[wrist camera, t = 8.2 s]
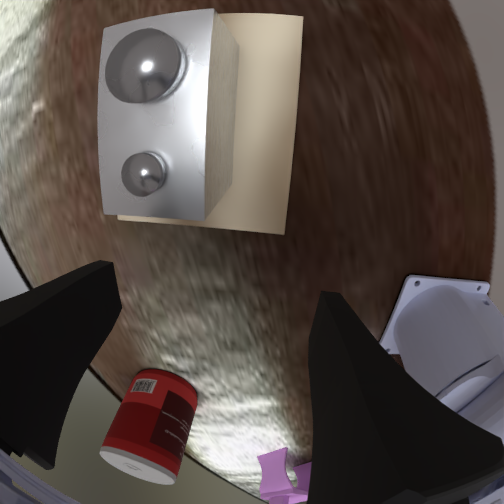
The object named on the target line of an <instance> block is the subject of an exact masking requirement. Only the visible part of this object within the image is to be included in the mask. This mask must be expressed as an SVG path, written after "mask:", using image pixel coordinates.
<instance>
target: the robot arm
mask: <svg viewBox="0 0 504 504" xmlns="http://www.w3.org/2000/svg"><path fill="white" fill-rule="evenodd" d="M416 281H418V282H417V283H416V284H415V282H416ZM478 286H479V287H478ZM489 288H490V285H489V283H488V282H484V281H473V280H462V279H451V278H440V277H430V276H419V275H409V276H408V277H407V278H406V279H405V281H404V284H403V287H402V290H401V292H400V295H399V298H398V300H397V303H396V305H395V308H394V310H393V313H392V315H391V317H390V320H389V322H388V324H387V327H386V329H385V331H384V334H383V336H382V338H381V340H380V342H378V341H377V340H376V339H375V338H374V336H373V335H372V334H371V333H370V331H369V330H368V329H367V328H366V326H365V325H364V324H363V323H362V321H361V320H360V319H359V317H358V316H357V315H356V313H355V312H354V311H353V310H352V308H351V307H350V306H349V304H348V303H347V302H346V300H345V299H344V298H343V296H342V295H341V294H340V293H336V292H326V291H321V294H320V298H319V302H318V306H317V310H316V314H315V317H314V321H313V325H312V328H311V332H310V336H309V352H308V367H309V378H310V389H311V400H312V413H313V449H312V463H311V473H310V483H309V491H308V498H307V504H504V316H503V315H502V314H501V312H500V311H499V310H498V308H497V307H496V306H495V304H494V303H493V302H492V301H491V299H490V298H489V297H488V296H487V292H488V290H489ZM121 309H122V305H121V300H120V296H119V291H118V286H117V281H116V276H115V270H114V265H113V262H108V261H102V260H99V261H96V262H93V263H90V264H87V265H85V266H82V267H80V268H78V269H76V270H73V271H71V272H69V273H67V274H65V275H63V276H60V277H58V278H56V279H54V280H52V281H50V282H47V283H45V284H43V285H41V286H38V287H36V288H34V289H32V290H30V291H27V292H25V293H23V294H20V295H17V296H15V297H12V298H9V299H6V300H4V301H1V302H0V504H42V503H41V502H39V501H38V500H36V499H34V498H33V497H31V496H29V495H28V494H26V493H25V492H23V491H21V490H20V489H18V488H17V487H15V486H14V485H13V484H12V480H13V481H15V482H16V483H17V484H18V485H20V486H21V487H22V488H24V489H25V490H26V491H28V492H29V493H30V494H32V495H33V496H35V497H36V498H37V499H39V500H40V501H42V502H43V503H45V504H81V503H79V502H77V501H75V500H73V499H72V498H70V497H68V496H66V495H65V494H63V493H61V492H59V491H58V490H56V489H55V488H53V487H51V486H50V485H48V484H47V483H45V482H44V481H42V480H41V479H39V478H38V477H36V476H35V475H33V474H32V473H31V472H29V471H28V470H27V469H25V468H24V467H23V466H21V465H20V464H18V463H17V462H16V461H15V460H14V459H12V458H11V457H10V454H11V453H12V452H14V453H15V454H16V455H18V456H19V457H22V455H23V454H24V455H25V456H27V457H28V458H29V459H31V460H32V461H34V462H35V463H37V464H38V465H40V466H41V467H43V468H44V469H46V470H50V469H53V468H54V466H55V458H56V452H57V447H58V442H59V438H60V433H61V430H62V426H63V423H64V420H65V417H66V414H67V411H68V408H69V405H70V402H71V400H72V398H73V395H74V393H75V390H76V388H77V386H78V384H79V382H80V380H81V378H82V376H83V374H84V372H85V371H86V369H87V368H88V366H89V365H90V363H91V361H92V360H93V358H94V357H95V355H96V354H97V352H98V351H99V349H100V347H101V346H102V344H103V343H104V341H105V340H106V338H107V337H108V335H109V333H110V332H111V330H112V328H113V326H114V324H115V322H116V320H117V318H118V316H119V314H120V312H121ZM389 354H400V356H401V359H402V362H403V364H404V367H405V370H406V371H405V370H404V369H403V368H402V367H401V366H400V365H399V364H398V363H397V362H396V361H395V360H394V359H393V358H392V357H391V356H390V355H389Z"/></svg>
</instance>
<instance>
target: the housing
mask: <svg viewBox="0 0 504 504" xmlns="http://www.w3.org/2000/svg"><path fill="white" fill-rule="evenodd" d="M239 50H240V46H239V44H238V43H237V41H236V40H235V38H234V37H233V35H232V34H231V32H230V31H229V29H228V28H227V26H226V25H225V23H224V22H223V20H222V19H221V18H220V16H219V15H218V13H217V12H216V10H215V9H202V10H192V11H183V12H176V13H169V14H163V15H158V16H152V17H147V18H142V19H138V20H133V21H129V22H125V23H121V24H117V25H114V26H110V27H107V28H104V32H103V40H102V48H101V58H100V70H99V87H98V151H99V169H100V182H101V192H102V202H103V210H104V214H109V215H126V216H141V217H156V218H170V219H183V220H196V221H205V220H206V218H207V217H208V216H209V214H210V213H211V211H212V210H213V209H214V207H215V206H216V205H217V203H218V202H219V201H220V199H221V198H222V197H223V195H224V194H225V193H226V191H227V190H228V189H229V187H230V186H231V185H232V173H233V151H234V131H235V113H236V96H237V80H238V65H239Z"/></svg>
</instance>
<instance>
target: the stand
mask: <svg viewBox="0 0 504 504" xmlns="http://www.w3.org/2000/svg"><path fill="white" fill-rule="evenodd" d="M218 15H219V16H220V18H221V19H222V20H223V22H224V23H225V25H226V26H227V28H228V29H229V31H230V32H231V34H232V35H233V37H234V38H235V40H236V41H237V43H238V44H239V46H240V50H239V65H238V80H237V96H236V113H235V131H234V151H233V173H232V185H231V186H230V187H229V189H228V190H227V191H226V193H225V194H224V195H223V197H222V198H221V199H220V201H219V202H218V203H217V205H216V206H215V207H214V209H213V210H212V211H211V213H210V214H209V216H208V217H207V218H206V220H205V221H196V220H183V219H170V218H156V217H141V216H126V215H117V216H118V220H127V221H140V222H153V223H165V224H177V225H189V226H200V227H211V228H222V229H232V230H242V231H252V232H262V233H272V234H282V235H284V232H285V224H286V215H287V206H288V197H289V188H290V178H291V168H292V158H293V148H294V137H295V126H296V114H297V102H298V90H299V76H300V61H301V45H302V27H303V17H302V16H292V15H279V14H259V13H229V14H218Z"/></svg>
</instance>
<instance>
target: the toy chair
mask: <svg viewBox="0 0 504 504" xmlns="http://www.w3.org/2000/svg"><path fill="white" fill-rule="evenodd" d="M287 449H288V448H286V447H285V448H282V449H279V450H276V451H273V452H270V453H267V454H264V455H260V456H257V458H258V460H259V463H260V465H261V468H262V481H261V485H260V493H261V499H265V500H270V502H269V504H293V503H298V502H302V501H307V498H308V491H309V483H310V473H311V463H312V462H309V463H306V464H303V465H299V466H296V467H293V470H294V472H295V474H296V476H297V480H298V485H297V488H295V487H294V486H293V485H292V483H291V481H290V480H289V478H288V476H287V473H286V468H285V462H286V455H287Z"/></svg>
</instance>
